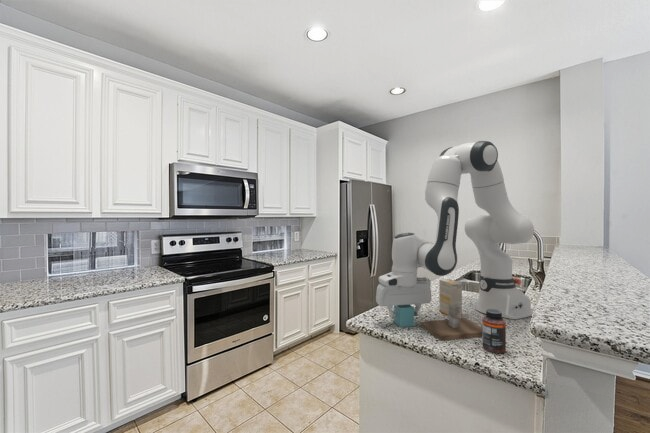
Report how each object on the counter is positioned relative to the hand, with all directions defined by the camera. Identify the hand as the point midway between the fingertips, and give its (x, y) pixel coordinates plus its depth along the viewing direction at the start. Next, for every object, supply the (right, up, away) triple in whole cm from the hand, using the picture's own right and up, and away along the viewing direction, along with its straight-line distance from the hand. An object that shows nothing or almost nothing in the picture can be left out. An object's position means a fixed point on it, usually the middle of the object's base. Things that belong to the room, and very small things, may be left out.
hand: (403, 316), depth 104 cm
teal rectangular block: (0, -3, 0) cm, 3 cm away
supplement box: (+21, -3, +11) cm, 24 cm away
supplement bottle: (+21, -3, -19) cm, 29 cm away
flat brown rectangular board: (+16, -3, -6) cm, 17 cm away
